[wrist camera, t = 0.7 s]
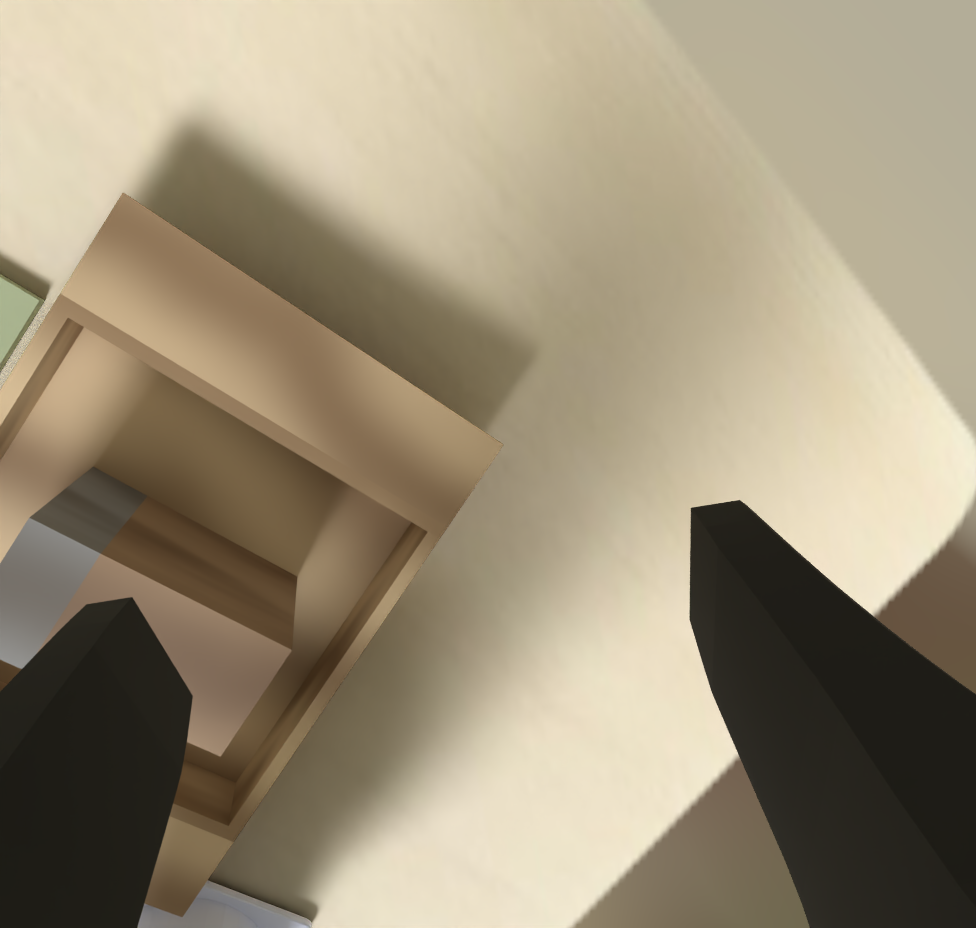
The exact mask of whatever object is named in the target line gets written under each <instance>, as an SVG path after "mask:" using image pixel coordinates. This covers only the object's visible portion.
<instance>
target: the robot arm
mask: <svg viewBox="0 0 976 928" xmlns="http://www.w3.org/2000/svg"><path fill="white" fill-rule="evenodd" d="M690 622H691V625H692V629H693V632H694V636H695V639H696V642H697V646H698V649H699V652H700V656H701V659H702V662H703V665H704V669H705V672H706V675H707V678H708V681H709V685H710V688H711V691H712V694H713V696H714V698H715V701H716V703H717V705H718V708H719V710H720V712H721V715H722V717H723V719H724V722H725V724H726V726H727V729H728V731H729V733H730V736H731V738H732V740H733V743H734V745H735V747H736V749H737V752H738V754H739V756H740V759H741V761H742V763H743V765H744V768H745V770H746V772H747V774H748V777H749V779H750V781H751V784H752V786H753V788H754V791H755V793H756V795H757V798H758V800H759V802H760V804H761V807H762V809H763V811H764V813H765V816H766V818H767V820H768V822H769V825H770V827H771V829H772V832H773V834H774V836H775V839H776V841H777V843H778V845H779V848H780V850H781V852H782V855H783V857H784V859H785V861H786V864H787V867H788V869H789V872H790V874H791V877H792V879H793V882H794V884H795V887H796V890H797V892H798V895H799V897H800V900H801V902H802V905H803V908H804V911H805V914H806V917H807V920H808V923H809V926H810V928H976V694H975V693H973V692H972V691H970V690H969V689H968V688H966V687H965V686H963V685H962V684H961V683H959V682H958V681H957V680H955V679H954V678H952V677H951V676H950V675H948V674H947V673H946V672H944V671H943V670H942V669H940V668H939V667H938V666H936V665H935V664H934V663H932V662H931V661H930V660H928V659H927V658H926V657H924V656H923V655H922V654H920V653H919V652H918V651H916V650H915V649H914V648H912V647H911V646H910V645H909V644H907V643H906V642H905V641H904V640H902V639H901V638H900V637H898V636H897V635H896V634H895V633H893V632H892V631H891V630H890V629H888V628H887V627H886V626H885V625H883V624H882V623H881V622H880V621H878V620H877V619H876V618H875V617H874V616H872V615H871V614H870V613H869V612H868V611H866V610H865V609H864V608H863V607H861V606H860V605H859V604H858V603H857V602H855V601H854V600H853V599H852V598H850V597H849V596H848V595H847V594H846V593H844V592H843V591H842V590H841V589H840V588H838V587H837V586H836V585H835V584H834V583H833V582H831V581H830V580H829V579H828V578H827V577H826V576H824V575H823V574H822V573H821V572H820V571H819V570H818V569H816V568H815V567H814V566H813V565H812V564H811V563H810V562H809V561H807V560H806V559H805V558H804V557H803V556H802V555H801V554H800V553H798V552H797V551H796V550H795V549H794V548H793V547H792V546H791V545H790V544H788V543H787V542H786V541H785V540H784V539H783V538H782V537H781V536H780V535H779V534H777V533H776V532H775V531H774V530H773V529H772V528H771V527H770V526H769V525H768V524H767V523H765V522H764V521H763V520H762V519H761V518H760V517H759V516H758V515H757V514H756V513H755V512H754V511H752V510H751V509H750V508H749V507H748V506H747V505H746V504H744V503H743V502H741V501H740V500H737V501H731V502H725V503H719V504H712V505H706V506H700V507H693V508H691V548H690ZM192 699H193V695H192V694H191V692H190V690H189V689H188V687H187V685H186V684H185V682H184V681H183V679H182V677H181V676H180V674H179V672H178V671H177V669H176V667H175V666H174V664H173V663H172V661H171V659H170V658H169V656H168V654H167V653H166V651H165V650H164V648H163V646H162V645H161V643H160V641H159V640H158V638H157V636H156V635H155V633H154V632H153V630H152V628H151V627H150V625H149V623H148V622H147V620H146V619H145V617H144V615H143V614H142V612H141V610H140V609H139V607H138V605H137V604H136V602H135V601H134V599H133V597H129V598H123V599H116V600H110V601H104V602H98V603H91V604H86V605H85V606H84V607H83V608H82V609H81V610H80V611H79V612H78V613H77V614H76V615H75V616H73V617H72V618H71V619H70V620H69V621H68V622H67V623H66V624H65V625H64V626H63V627H62V628H61V629H60V630H59V631H58V632H57V633H56V634H55V635H54V636H53V637H52V638H51V639H50V640H49V641H48V642H47V643H46V644H45V646H44V647H43V648H42V649H41V650H40V651H39V652H38V653H37V654H36V655H35V656H34V657H33V658H32V659H31V660H30V661H29V662H28V663H27V664H26V665H25V666H24V667H23V668H22V669H21V670H20V671H19V673H18V674H17V675H16V676H15V677H14V678H13V679H12V680H11V681H10V682H9V683H8V684H7V685H6V686H5V687H4V688H3V689H2V690H1V691H0V928H312V923H311V921H310V920H309V919H307V918H305V917H302V916H299V915H297V914H294V913H291V912H289V911H286V910H284V909H281V908H278V907H276V906H273V905H271V904H268V903H265V902H263V901H260V900H258V899H255V898H252V897H250V896H247V895H244V894H242V893H239V892H237V891H234V890H231V889H229V888H226V887H224V886H221V885H218V884H216V883H213V882H211V881H208V880H207V882H206V883H205V885H204V886H203V888H202V889H201V891H200V892H199V894H198V895H197V897H196V898H195V900H194V901H193V902H192V904H191V905H190V907H189V908H188V910H187V911H186V913H185V914H184V916H183V917H180V916H177V915H174V914H171V913H169V912H166V911H163V910H160V909H158V908H155V907H152V906H149V905H147V904H144V903H145V899H146V896H147V892H148V889H149V886H150V882H151V879H152V875H153V872H154V868H155V865H156V862H157V858H158V855H159V851H160V848H161V844H162V841H163V838H164V834H165V831H166V827H167V823H168V820H169V816H170V813H171V809H172V806H173V802H174V799H175V795H176V791H177V788H178V784H179V780H180V776H181V773H182V767H183V761H184V755H185V749H186V743H187V737H188V730H189V722H190V715H191V707H192Z"/></svg>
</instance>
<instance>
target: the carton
mask: <svg viewBox="0 0 976 928" xmlns="http://www.w3.org/2000/svg"><path fill="white" fill-rule="evenodd" d="M502 446H503V444H502V443H500V442H499V441H497V440H496V439H494V438H493V437H491V436H490V435H488V434H487V433H485V432H484V431H482V430H481V429H479V428H478V427H476V426H475V425H473V424H472V423H470V422H469V421H467V420H466V419H464V418H463V417H461V416H460V415H458V414H457V413H455V412H454V411H452V410H451V409H449V408H448V407H446V406H445V405H443V404H442V403H440V402H439V401H437V400H436V399H434V398H433V397H431V396H430V395H428V394H427V393H425V392H424V391H422V390H421V389H419V388H418V387H416V386H414V385H413V384H411V383H410V382H408V381H407V380H405V379H404V378H402V377H401V376H399V375H398V374H396V373H395V372H393V371H392V370H390V369H389V368H387V367H386V366H384V365H383V364H381V363H380V362H378V361H377V360H375V359H374V358H372V357H371V356H369V355H368V354H366V353H365V352H363V351H362V350H360V349H359V348H357V347H356V346H354V345H353V344H351V343H350V342H348V341H347V340H345V339H344V338H342V337H341V336H339V335H338V334H336V333H335V332H333V331H332V330H330V329H329V328H327V327H326V326H324V325H322V324H321V323H319V322H318V321H316V320H315V319H313V318H312V317H310V316H309V315H307V314H306V313H304V312H303V311H301V310H300V309H298V308H297V307H295V306H294V305H292V304H291V303H289V302H288V301H286V300H285V299H283V298H282V297H280V296H279V295H277V294H276V293H274V292H273V291H271V290H270V289H268V288H267V287H265V286H264V285H262V284H261V283H259V282H258V281H256V280H255V279H253V278H252V277H250V276H249V275H247V274H246V273H244V272H243V271H241V270H240V269H238V268H237V267H235V266H233V265H232V264H230V263H229V262H227V261H226V260H224V259H223V258H221V257H220V256H218V255H217V254H215V253H214V252H212V251H211V250H209V249H208V248H206V247H205V246H203V245H202V244H200V243H199V242H197V241H196V240H194V239H193V238H191V237H190V236H188V235H187V234H185V233H184V232H182V231H181V230H179V229H178V228H176V227H175V226H173V225H172V224H170V223H169V222H167V221H166V220H164V219H163V218H161V217H160V216H158V215H157V214H155V213H154V212H152V211H151V210H149V209H148V208H146V207H145V206H143V205H141V204H140V203H138V202H137V201H135V200H134V199H132V198H131V197H129V196H128V195H126V194H125V193H122V195H121V196H120V198H119V200H118V201H117V203H116V205H115V206H114V208H113V209H112V211H111V213H110V214H109V216H108V217H107V219H106V221H105V222H104V224H103V225H102V227H101V229H100V230H99V232H98V234H97V235H96V237H95V238H94V240H93V242H92V243H91V245H90V246H89V248H88V250H87V251H86V253H85V254H84V256H83V258H82V259H81V261H80V263H79V264H78V266H77V267H76V269H75V271H74V272H73V274H72V275H71V277H70V279H69V280H68V282H67V283H66V285H65V287H64V288H63V290H62V292H61V293H60V295H59V296H58V298H57V300H56V301H55V303H54V304H53V306H52V308H51V309H50V311H49V312H48V314H47V316H46V317H45V319H44V321H43V322H42V324H41V325H40V327H39V329H38V330H37V332H36V333H35V335H34V337H33V338H32V340H31V341H30V343H29V345H28V346H27V348H26V350H25V351H24V353H23V354H22V356H21V358H20V359H19V361H18V362H17V364H16V366H15V367H14V369H13V370H12V372H11V374H10V375H9V377H8V379H7V380H6V382H5V383H4V385H3V387H2V388H1V390H0V563H1V561H2V560H3V558H4V557H5V555H6V553H7V552H8V550H9V549H10V547H11V546H12V544H13V542H14V541H15V539H16V538H17V536H18V534H19V533H20V531H21V530H22V528H23V527H24V525H25V523H26V522H27V520H28V519H29V517H31V516H32V515H33V514H34V513H36V512H37V511H38V510H39V509H41V508H42V507H43V506H44V505H46V504H47V503H48V502H49V501H51V500H52V499H53V498H54V497H56V496H57V495H58V494H59V493H61V492H62V491H63V490H64V489H66V488H67V487H68V486H69V485H71V484H72V483H73V482H74V481H76V480H77V479H78V478H79V477H81V476H82V475H83V474H84V473H86V472H87V471H88V470H89V469H91V468H92V467H95V468H97V469H99V470H100V471H102V472H104V473H106V474H108V475H110V476H112V477H113V478H115V479H117V480H119V481H121V482H123V483H125V484H126V485H128V486H130V487H132V488H134V489H136V490H138V491H139V492H141V493H143V494H145V495H147V496H149V497H150V498H152V499H154V500H156V501H158V502H160V503H162V504H163V505H165V506H167V507H169V508H171V509H173V510H175V511H176V512H178V513H180V514H182V515H184V516H186V517H188V518H189V519H191V520H193V521H195V522H197V523H199V524H201V525H202V526H204V527H206V528H208V529H210V530H212V531H214V532H215V533H217V534H219V535H221V536H223V537H225V538H227V539H228V540H230V541H232V542H234V543H236V544H238V545H240V546H241V547H243V548H245V549H247V550H249V551H251V552H253V553H254V554H256V555H258V556H260V557H262V558H264V559H266V560H267V561H269V562H271V563H273V564H275V565H277V566H279V567H280V568H282V569H284V570H286V571H288V572H290V573H292V574H293V575H295V576H297V588H296V602H295V616H294V631H293V645H292V651H291V653H290V654H289V655H288V657H287V658H286V660H285V661H284V663H283V664H282V666H281V667H280V669H279V670H278V672H277V673H276V675H275V676H274V678H273V679H272V681H271V682H270V684H269V685H268V687H267V688H266V690H265V691H264V693H263V694H262V696H261V697H260V699H259V700H258V702H257V703H256V705H255V706H254V708H253V709H252V711H251V712H250V714H249V715H248V717H247V718H246V720H245V721H244V723H243V724H242V725H241V727H240V728H239V730H238V731H237V733H236V734H235V736H234V737H233V739H232V740H231V742H230V743H229V745H228V746H227V748H226V749H225V751H224V752H223V754H222V755H221V757H220V756H218V755H215V754H213V753H211V752H209V751H206V750H204V749H202V748H200V747H197V746H195V745H193V744H191V743H188V742H187V743H186V749H185V755H184V761H183V767H182V773H181V776H180V780H179V784H178V788H177V791H176V795H175V799H174V802H173V806H172V809H171V813H170V816H169V820H168V823H167V827H166V831H165V834H164V838H163V841H162V844H161V848H160V851H159V855H158V858H157V862H156V865H155V868H154V872H153V875H152V879H151V882H150V886H149V889H148V892H147V896H146V899H145V903H144V904H147V905H149V906H152V907H155V908H158V909H160V910H163V911H166V912H169V913H171V914H174V915H177V916H180V917H183V916H184V914H185V913H186V911H187V910H188V908H189V907H190V905H191V904H192V902H193V901H194V900H195V898H196V897H197V895H198V894H199V892H200V891H201V889H202V888H203V886H204V885H205V883H206V882H207V880H208V879H209V877H210V876H211V875H212V873H213V872H214V870H215V869H216V867H217V866H218V864H219V863H220V861H221V860H222V858H223V857H224V855H225V854H226V852H227V851H228V850H229V848H230V847H231V845H232V844H233V842H234V841H235V839H236V838H237V836H238V835H239V833H240V832H241V830H242V829H243V827H244V826H245V824H246V823H247V822H248V820H249V819H250V817H251V816H252V814H253V813H254V811H255V810H256V808H257V807H258V805H259V804H260V802H261V801H262V799H263V798H264V797H265V795H266V794H267V792H268V791H269V789H270V788H271V786H272V785H273V783H274V782H275V780H276V779H277V777H278V776H279V774H280V773H281V771H282V770H283V769H284V767H285V766H286V764H287V763H288V761H289V760H290V758H291V757H292V755H293V754H294V752H295V751H296V749H297V748H298V746H299V745H300V744H301V742H302V741H303V739H304V738H305V736H306V735H307V733H308V732H309V730H310V729H311V727H312V726H313V724H314V723H315V721H316V720H317V719H318V717H319V716H320V714H321V713H322V711H323V710H324V708H325V707H326V705H327V704H328V702H329V701H330V699H331V698H332V696H333V695H334V693H335V692H336V691H337V689H338V688H339V686H340V685H341V683H342V682H343V680H344V679H345V677H346V676H347V674H348V673H349V671H350V670H351V668H352V667H353V666H354V664H355V663H356V661H357V660H358V658H359V657H360V655H361V654H362V652H363V651H364V649H365V648H366V646H367V645H368V643H369V642H370V641H371V639H372V638H373V636H374V635H375V633H376V632H377V630H378V629H379V627H380V626H381V624H382V623H383V621H384V620H385V618H386V617H387V615H388V614H389V613H390V611H391V610H392V608H393V607H394V605H395V604H396V602H397V601H398V599H399V598H400V596H401V595H402V593H403V592H404V590H405V589H406V588H407V586H408V585H409V583H410V582H411V580H412V579H413V577H414V576H415V574H416V573H417V571H418V570H419V568H420V567H421V565H422V564H423V562H424V561H425V560H426V558H427V557H428V555H429V554H430V552H431V551H432V549H433V548H434V546H435V545H436V543H437V542H438V540H439V539H440V537H441V536H442V535H443V533H444V532H445V530H446V529H447V527H448V526H449V524H450V523H451V521H452V520H453V518H454V517H455V515H456V514H457V512H458V511H459V510H460V508H461V507H462V505H463V504H464V502H465V501H466V499H467V498H468V496H469V495H470V493H471V492H472V490H473V489H474V487H475V486H476V484H477V483H478V482H479V480H480V479H481V477H482V476H483V474H484V473H485V471H486V470H487V468H488V467H489V465H490V464H491V462H492V461H493V459H494V458H495V457H496V455H497V454H498V452H499V451H500V449H501V448H502ZM20 670H21V669H20V668H18V667H16V666H13V665H11V664H9V663H7V662H4V661H2V660H0V691H1V690H2V689H3V688H4V687H5V686H6V685H7V684H8V683H9V682H10V681H11V680H12V679H13V678H14V677H15V676H16V675H17V674H18V673H19V671H20Z"/></svg>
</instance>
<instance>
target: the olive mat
mask: <svg viewBox="0 0 976 928" xmlns="http://www.w3.org/2000/svg"><path fill="white" fill-rule="evenodd" d="M44 301H45V300H43V299H42V298H40V297H38V296H37V295H35V294H33V293H32V292H30V291H28V290H26V289H25V288H23V287H21V286H20V285H18V284H16V283H15V282H13V281H11V280H10V279H8V278H6V277H5V276H3V275H1V274H0V372H1V370H2V368H3V367H4V365H5V364H6V362H7V360H8V359H9V357H10V356H11V354H12V352H13V351H14V349H15V348H16V346H17V344H18V343H19V341H20V339H21V338H22V336H23V335H24V333H25V331H26V330H27V328H28V327H29V325H30V323H31V322H32V320H33V318H34V317H35V315H36V314H37V312H38V310H39V309H40V307H41V306H42V304H43V302H44Z"/></svg>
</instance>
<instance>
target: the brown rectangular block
mask: <svg viewBox="0 0 976 928" xmlns="http://www.w3.org/2000/svg"><path fill="white" fill-rule="evenodd" d="M296 588H297V576H295V575H293V574H292V573H290V572H288V571H286V570H284V569H282V568H280V567H279V566H277V565H275V564H273V563H271V562H269V561H267V560H266V559H264V558H262V557H260V556H258V555H256V554H254V553H253V552H251V551H249V550H247V549H245V548H243V547H241V546H240V545H238V544H236V543H234V542H232V541H230V540H228V539H227V538H225V537H223V536H221V535H219V534H217V533H215V532H214V531H212V530H210V529H208V528H206V527H204V526H202V525H201V524H199V523H197V522H195V521H193V520H191V519H189V518H188V517H186V516H184V515H182V514H180V513H178V512H176V511H175V510H173V509H171V508H169V507H167V506H165V505H163V504H162V503H160V502H158V501H156V500H154V499H152V498H150V497H149V496H147V495H145V494H143V493H141V492H139V491H138V490H136V489H134V488H132V487H130V486H128V485H126V484H125V483H123V482H121V481H119V480H117V479H115V478H113V477H112V476H110V475H108V474H106V473H104V472H102V471H100V470H99V469H97V468H95V467H92V468H91V469H89V470H88V471H87V472H86V473H84V474H83V475H82V476H81V477H79V478H78V479H77V480H76V481H74V482H73V483H72V484H71V485H69V486H68V487H67V488H66V489H64V490H63V491H62V492H61V493H59V494H58V495H57V496H56V497H54V498H53V499H52V500H51V501H49V502H48V503H47V504H46V505H44V506H43V507H42V508H41V509H39V510H38V511H37V512H36V513H34V514H33V515H32V516H31V517H29V519H28V520H27V522H26V523H25V525H24V527H23V528H22V530H21V531H20V533H19V534H18V536H17V538H16V539H15V541H14V542H13V544H12V546H11V547H10V549H9V550H8V552H7V553H6V555H5V557H4V558H3V560H2V561H1V563H0V660H2V661H4V662H7V663H9V664H11V665H13V666H16V667H18V668H20V669H22V668H23V667H24V666H25V665H26V664H27V663H28V662H29V661H30V660H31V659H32V658H33V657H34V656H35V655H36V654H37V653H38V652H39V651H40V650H41V649H42V648H43V647H44V646H45V644H46V643H47V642H48V641H49V640H50V639H51V638H52V637H53V636H54V635H55V634H56V633H57V632H58V631H59V630H60V629H61V628H62V627H63V626H64V625H65V624H66V623H67V622H68V621H69V620H70V619H71V618H72V617H73V616H75V615H76V614H77V613H78V612H79V611H80V610H81V609H82V608H83V607H84V606H85V605H86V604H91V603H98V602H104V601H110V600H116V599H123V598H129V597H133V599H134V601H135V602H136V604H137V605H138V607H139V609H140V610H141V612H142V614H143V615H144V617H145V619H146V620H147V622H148V623H149V625H150V627H151V628H152V630H153V632H154V633H155V635H156V636H157V638H158V640H159V641H160V643H161V645H162V646H163V648H164V650H165V651H166V653H167V654H168V656H169V658H170V659H171V661H172V663H173V664H174V666H175V667H176V669H177V671H178V672H179V674H180V676H181V677H182V679H183V681H184V682H185V684H186V685H187V687H188V689H189V690H190V692H191V694H192V695H193V699H192V707H191V715H190V722H189V730H188V737H187V742H188V743H191V744H193V745H195V746H197V747H200V748H202V749H204V750H206V751H209V752H211V753H213V754H215V755H218V756H220V757H221V755H222V754H223V752H224V751H225V749H226V748H227V746H228V745H229V743H230V742H231V740H232V739H233V737H234V736H235V734H236V733H237V731H238V730H239V728H240V727H241V725H242V724H243V723H244V721H245V720H246V718H247V717H248V715H249V714H250V712H251V711H252V709H253V708H254V706H255V705H256V703H257V702H258V700H259V699H260V697H261V696H262V694H263V693H264V691H265V690H266V688H267V687H268V685H269V684H270V682H271V681H272V679H273V678H274V676H275V675H276V673H277V672H278V670H279V669H280V667H281V666H282V664H283V663H284V661H285V660H286V658H287V657H288V655H289V654H290V653H291V651H292V645H293V631H294V616H295V602H296Z"/></svg>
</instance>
